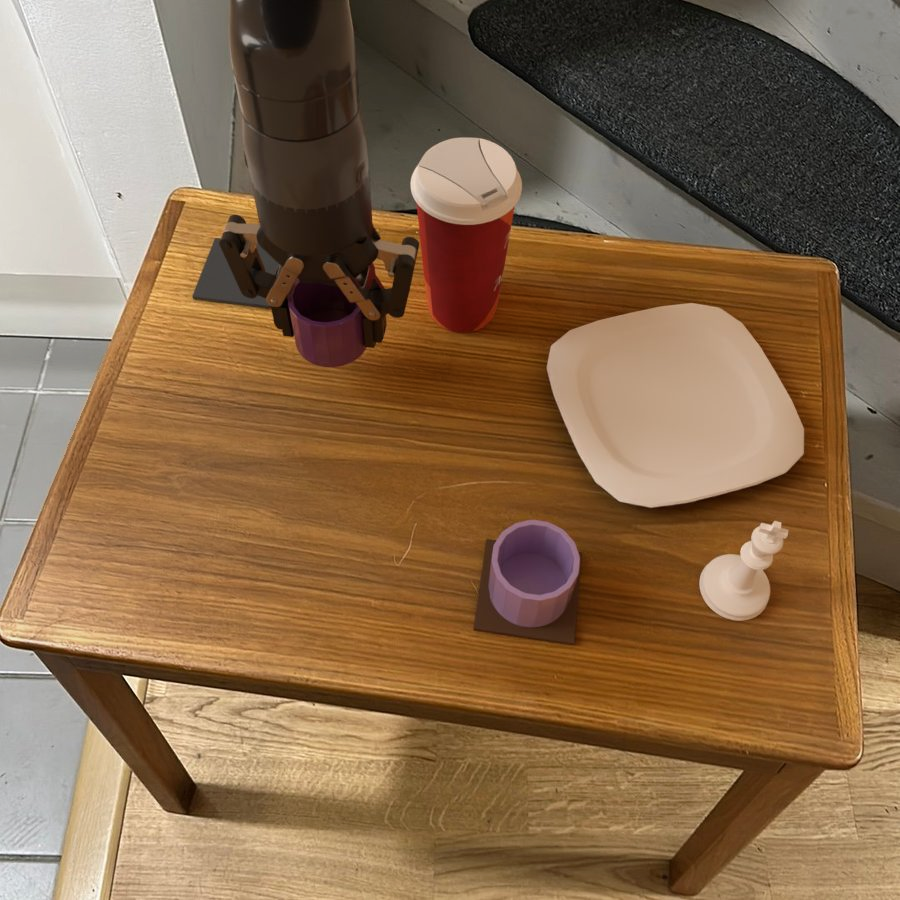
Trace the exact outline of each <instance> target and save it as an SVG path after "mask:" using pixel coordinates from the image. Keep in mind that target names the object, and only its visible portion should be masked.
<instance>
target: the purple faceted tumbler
mask: <svg viewBox="0 0 900 900" xmlns="http://www.w3.org/2000/svg"><path fill="white" fill-rule="evenodd" d="M287 301H288V306H289V312H290V317H291V322H292V327H293V333H294V336H293V338H294V342H295V347H296V349H297V352H298V353H299V354H300V357H302V358H303V359H304V360H306V361H307V362H309V363H310V364H313V365H314V366H318V367H322V368H339V367H344V366H347V365H350V364H352V363H353V362H355V361H356V360H358V359H359V358H360V357H362V355H363V354H364V353H365V352H366V350H367V348H368V347H365V341H364V329H363V315H364V314H363V313H362V311H361V310H360V308H359V307H358V306H357V304H356V303H355V302H354V303H350V302H349V300H348V299H347V298H346V296H345V295H344V293H343V292H342V291H341V289H340V288H339V287H334V286H329V285H326V284H323V283H304V282H299V279H298V278H297V279H296V281H295V283H294V285H293V287H292V288H291V290H290V292H289V294H288V295H287Z"/></svg>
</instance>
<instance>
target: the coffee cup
mask: <svg viewBox="0 0 900 900" xmlns="http://www.w3.org/2000/svg"><path fill="white" fill-rule="evenodd" d="M517 168H518V167H517V165H516V163H515V160H514V159H513V157H512V155H511V154H510V153H509V152H508V151H507V150H505V149H504V148H503V147H502V146H501V145H499V144H497V143H495V142H492V141H491V140H489V139H484V138H481V137H480V138H479V137H453V138H449V139H446V140H443V141H441V142H439V143H437V144H435V145H433V146H432V147H430V148H429V149H428V150H426V151H425V153H424V154H423V156H421V158H420V161H419V163H418V164H417V165H416V166H415V168H414V170H413V172H412V174H411V177H410V191H411V195H412V197H413V199H414V201H415V202H416V210H417V221H418V222H417V223H418V231H419V241H420V242H419V243H420V251H421V261H422V262H421V263H422V271H423V272H422V273H423V280H424V290H425V297H426V304H427V310H428V313H429V315H430V317H431V319H432V320H433V322H435V323H436V325H438V326H439V327H441V328H442V329H445V330H447V331H450V332H452V333H453V332H454V333H472V332H475V331H478V330H481V329H483V328H485V327H486V326H487V325H488V324H490V322H492V320H493V319H494V317H495V315H496V312H497V308H498V304H499V300H500V299H499V298H500V295H501V290H502V289H501V288H502V283H503V278H504V271H505V264H506V260H507V255H508V248H509V243H510V236H511V231H512V224H513V219H514V212H515V206H516V205H517V204H518V203H519V200H520V198H521V195H522V192H523V191H522V190H523V181H522V177H521V175H520V172H519V170H518V169H517Z"/></svg>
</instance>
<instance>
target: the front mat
mask: <svg viewBox="0 0 900 900" xmlns="http://www.w3.org/2000/svg"><path fill="white" fill-rule="evenodd" d="M496 541H497V539H493V538H492V539H491V538H486V539H485V545H484V553H483V560H482V566H481V574H480V580H479V588H478V595H477V601H476V608H475V613H474V614H475V615H474V621H473V629H472V630H473V631H474V632H475V631H476V632H482V633H489V634H496V635H500V636H501V635H502V636H509V637H516V638H522V639H528V640H536V641H542V642H550V643H557V644H563V645H571V646H575V641H576V630H577V629H576V628H577V616H578V603H579V593H580V580H581V571H582V570H581V569H582V558H583V557H582V556H583V552H582V551H578V553H579V556H580V565H579V574H578V577H577V580H576V583H575V587H574V590H573V593H572V596H571V599H570V601H569V603H568V606H567V608H566V609H565V611H564V612H563V614H562V615H561V616H560V617H559V618H558V619H556V620H555V621H553V622H552V623H550V624H547V625H544V626H541V627H523V626H519V625H516V624H513V623H511V622H509V621H508V620H506V619H505V618H504V617H502V616H501V615H500V614H499V613H498V611H497V610H496V609H495V607H494V606H493V604H492V601H491V599H490V595H489V577H490V569H491V560H492V553H493V546H494V544H495V542H496Z"/></svg>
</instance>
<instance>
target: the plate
mask: <svg viewBox="0 0 900 900" xmlns="http://www.w3.org/2000/svg"><path fill="white" fill-rule="evenodd" d="M549 348H550V349H549V354H548V357H547V364H546V374H547V377H548V382H549V385H550V388H551V389H550V390H551V393H552V396H553V399H554V401H555V403H556V404H555V405H556V406H557V408H558V411H559V414H560V416H561V418H562V421H563V423H564V426H565V428H566V430H567V432H568V435H569V438H570V439H571V442H572V444H573V447H574V448H575V451H576V453H577V455H578V457H579V458H580V460H581V462H582V463H583V465H584V467H585V469H586V470H587V472H588V474H589V475H590V477H591V479H592V480H593V482H594V483H595V484H596V485H597V486H598V487H599V488H601V490H603V491H604V492H605V493H606V494H608V495H609V496H610V497H611V498H613V499H614V500H615V501H616V502H618V503H620V504H625V505H630V506H635V507H641V508H644V509H645V508H646V509H649V510H651V509H659V508H665V507H666V508H667V507H672V506H681V505H687V504H690V503H691V504H692V503H695V502H699V501H704V500H707V499H712V498H716V497H719V496H723V495H727V494H731V493H734V492H738V491H741V490H745V489H749V488H753V487H755V486H756V487H757V486H758V485H761V484H763V483H766V482H769V481H770V480H773V479H776V478H778V477H781V476H783V475H786V473H787V472H788V471H790V469H791V468H792V467H793V466H794V465H795V464H796V463H797V462H798V461H799V460H800V459H801V458H802V457H803V456H804V454H805V427H804V425H803V423H802V421H801V418H800V416H799V414H798V411H797V409H796V407H795V404H794V402H793V400H792V398H791V396H790V394H789V392H788V391H787V389H786V387H785V386H784V384H783V382H782V381H781V379H780V376H779V375H778V373H777V371H776V370H775V368H774V366H773V365H772V363H771V362H770V360H769V358H768V357H767V354H765V352H764V350H763V349H762V346H761V345H760V344H759V343H758V342H757V340H756V339H755V338H754V336H753V335H752V333H750V331H749V330H748V329H747V327H746V326H745V324H744V323H743V322H742V321H740V320H738V319H737V318H735V316H733V315H731V314H730V313H728V312H727V311H725V310H724V309H722V308H721V307H720V306H719V307H718V306H712V305H706V304H700V303H694V302H688V303H679V304H670V305H662V306H661V305H660V306H656V307H652V308H646V309H642V310H638V311H633V312H632V311H631V312H628V313H624V314H620V315H616V316H611V317H606V318H602V319H598V320H596V321H592V322H589V323H587V324H584V325H581V326H577V327H575V328H572V329H569V330H568V331H567V332H566V333H565V334H564V335H562V336H561V337H560V338H559V339H557V340H556V341H554V342H553V343H552V344H551V345H550V347H549Z"/></svg>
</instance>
